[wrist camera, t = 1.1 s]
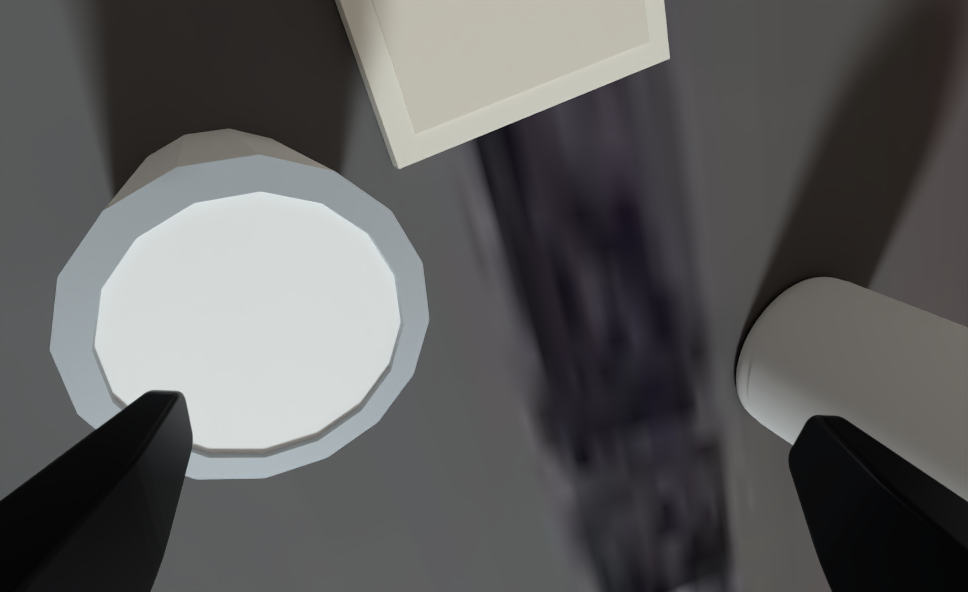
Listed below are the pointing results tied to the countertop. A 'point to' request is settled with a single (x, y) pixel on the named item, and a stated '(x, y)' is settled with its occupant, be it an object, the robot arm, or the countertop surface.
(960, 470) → the pill bottle
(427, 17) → the coaster
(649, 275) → the countertop surface
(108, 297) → the shot glass
